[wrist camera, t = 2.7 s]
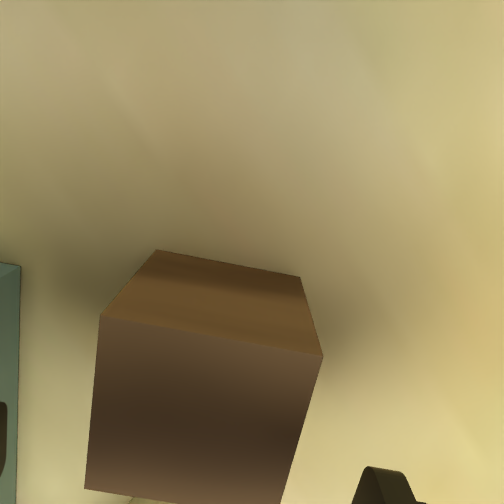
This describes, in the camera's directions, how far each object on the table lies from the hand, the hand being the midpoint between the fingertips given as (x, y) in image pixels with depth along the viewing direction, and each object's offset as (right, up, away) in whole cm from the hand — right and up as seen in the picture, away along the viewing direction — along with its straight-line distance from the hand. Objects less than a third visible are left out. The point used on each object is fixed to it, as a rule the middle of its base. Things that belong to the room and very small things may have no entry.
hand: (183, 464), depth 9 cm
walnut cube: (0, +2, +5) cm, 6 cm away
